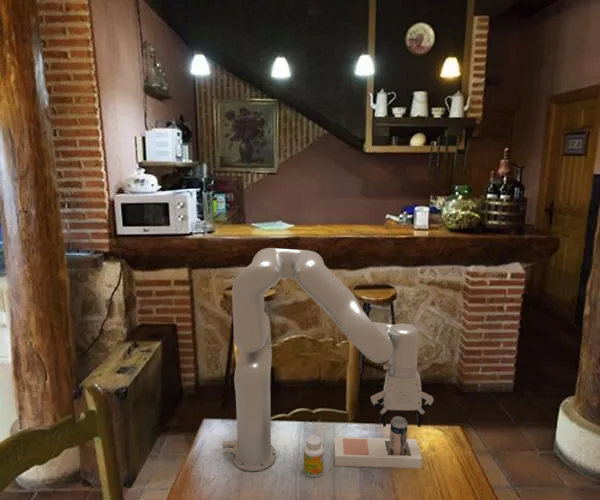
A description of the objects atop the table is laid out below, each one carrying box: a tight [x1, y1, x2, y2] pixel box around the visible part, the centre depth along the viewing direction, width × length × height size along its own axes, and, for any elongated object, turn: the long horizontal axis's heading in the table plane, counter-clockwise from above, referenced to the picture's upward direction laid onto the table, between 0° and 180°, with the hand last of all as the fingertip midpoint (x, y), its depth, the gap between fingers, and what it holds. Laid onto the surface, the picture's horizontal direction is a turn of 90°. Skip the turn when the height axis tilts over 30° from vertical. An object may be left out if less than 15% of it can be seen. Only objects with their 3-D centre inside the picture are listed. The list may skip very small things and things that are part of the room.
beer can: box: [388, 415, 409, 456], centre depth 138 cm, size 5×5×12 cm
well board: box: [333, 436, 423, 469], centre depth 139 cm, size 24×9×3 cm, turn 88°
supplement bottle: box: [303, 435, 325, 478], centre depth 132 cm, size 5×5×10 cm
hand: (401, 424), depth 137 cm, fingers open, 9 cm apart
